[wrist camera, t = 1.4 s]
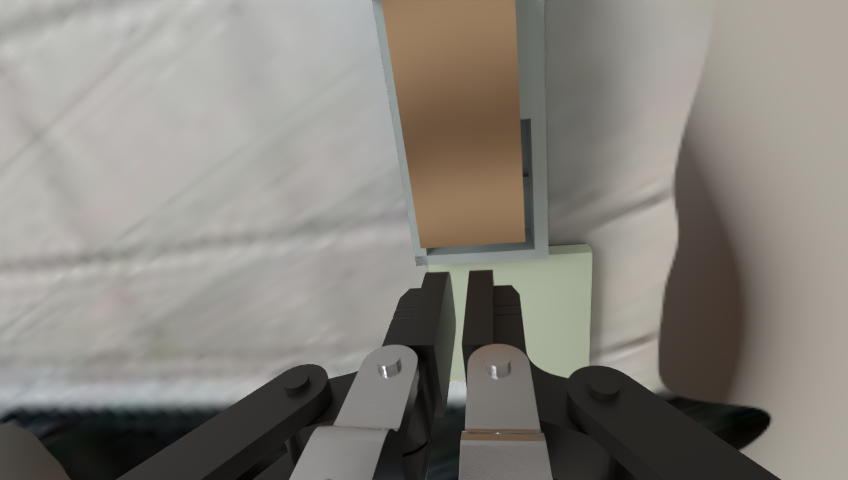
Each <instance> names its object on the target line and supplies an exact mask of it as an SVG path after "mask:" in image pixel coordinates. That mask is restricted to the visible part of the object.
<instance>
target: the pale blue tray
mask: <svg viewBox="0 0 848 480" xmlns="http://www.w3.org/2000/svg"><path fill="white" fill-rule="evenodd" d="M372 3H373V9H374V14H375V20H376V26H377V32H378V38H379V44H380V50H381V56H382V62H383V68H384V74H385V80H386V86H387V92H388V98H389V104H390V110H391V116H392V122H393V128H394V134H395V140H396V146H397V152H398V158H399V164H400V170H401V176H402V182H403V188H404V194H405V200H406V206H407V212H408V218H409V224H410V230H411V236H412V242H413V248H414V254H415V260H416V266H420V265H439V264H457V263H476V262H494V261H513V260H531V259H549V252H548V194H547V136H546V78H545V20H544V0H515V9H516V33H517V56H518V80H519V103H520V127H521V150H522V174H523V197H524V221H525V242H517V243H501V244H485V245H469V246H453V247H437V248H421V247H420V241H419V235H418V228H417V222H416V216H415V209H414V203H413V197H412V191H411V184H410V178H409V172H408V166H407V159H406V153H405V147H404V140H403V134H402V128H401V122H400V115H399V109H398V103H397V96H396V90H395V84H394V78H393V71H392V65H391V59H390V53H389V46H388V40H387V34H386V27H385V21H384V15H383V9H382V2H381V0H372Z"/></svg>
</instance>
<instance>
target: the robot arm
mask: <svg viewBox="0 0 848 480" xmlns="http://www.w3.org/2000/svg"><path fill="white" fill-rule="evenodd" d="M455 335H456V315H455V307H454V298H453V290H452V282H451V275H450V272H427V273H426V274H425V277H424V280H423V283H422V287H421V288H413V289H409V290H408V291H407V292H406V293H405V294H404V295H403V296H402V297H401V298H400V300H399V302H398V305H397V308H396V310H395V313H394V316H393V319H392V321H391V324H390V326H389V329H388V332H387V335H386V337H385V340H384V343H383V345H382V347H381V348H378V349H376V350H374V351H373V352H371V353H370V354H369V355H367V356H366V358H365V359H364V360H363V362H362V364H361V366H360V368H359V370H358V371H357V372H354V373H351V374H347V375H343V376H339V377H334V378H330V379H328V375H327V372H326V371H325V369H324V368H322V367H321V366H318V365H314V364H306V365H300V366H297V367H294V368H291V369H289V370H287V371H285V372H284V373H282V374H281V375H279V376H277V377H276V378H274V379H273V380H271V381H270V382H268V383H267V384H265V385H263V386H262V387H260V388H259V389H257V390H256V391H254V392H252V393H251V394H249V395H248V396H246V397H245V398H243V399H241V400H240V401H238V402H237V403H235V404H234V405H232V406H231V407H229V408H227V409H226V410H224V411H223V412H221V413H220V414H218V415H216V416H215V417H213V418H212V419H210V420H209V421H207V422H206V423H204V424H202V425H201V426H199V427H198V428H196V429H195V430H193V431H191V432H190V433H188V434H187V435H185V436H184V437H182V438H181V439H179V440H177V441H176V442H174V443H173V444H171V445H170V446H168V447H166V448H165V449H163V450H162V451H160V452H159V453H157V454H156V455H154V456H152V457H151V458H149V459H148V460H146V461H145V462H143V463H141V464H140V465H138V466H137V467H135V468H134V469H132V470H130V471H129V472H127V473H126V474H124V475H123V476H121V477H120V478H118V479H116V480H236V479H237V478H238V477H239V476H240V475H241V474H243V473H244V472H245V471H247V470H248V469H249V468H251V467H252V466H253V465H255V464H256V463H257V462H259V461H260V460H261V459H262V458H264V457H265V456H266V455H268V454H269V453H270V452H272V451H273V450H274V449H276V448H277V447H278V446H280V445H281V444H282V443H284V442H285V444H286V446H287V449H288V451H289V452H288V453H286V454H285V455H284V456H282V457H281V458H280V459H279V460H277V461H276V462H275V463H273V464H272V465H271V466H270V467H268V468H267V469H266V470H265V471H263V472H262V473H261V474H259V475H258V476H257V477H256V478H254V479H253V480H426V475H427V470H428V464H429V459H430V453H431V448H432V437H431V431H432V425H433V419H434V418H445V413H446V406H447V398H448V390H449V382H450V374H451V366H452V358H453V351H454V343H455ZM462 353H463V361H464V370H465V378H466V386H467V396H466V423H465V431H462V435H461V446H460V467H459V480H553V479H552V477H554V478H556V479H559V480H781V479H779V478H778V477H776V476H775V475H773V474H772V473H770V472H769V471H767V470H766V469H764V468H763V467H762V466H760V465H758V464H757V463H756V462H754V461H753V460H751V459H750V458H748V457H747V456H745V455H744V454H742V453H741V452H739V451H738V450H736V449H735V448H734V447H732V446H731V445H729V444H728V443H726V442H725V441H723V440H722V439H720V438H719V437H717V436H716V435H714V434H713V433H711V432H710V431H709V430H707V429H706V428H704V427H703V426H701V425H700V424H698V423H697V422H695V421H694V420H692V419H691V418H689V417H688V416H686V415H685V414H683V413H682V412H681V411H679V410H678V409H676V408H675V407H673V406H672V405H670V404H669V403H667V402H666V401H664V400H663V399H661V398H660V397H658V396H657V395H656V394H654V393H653V392H651V391H650V390H648V389H647V388H645V387H644V386H642V385H641V384H639V383H638V382H636V381H635V380H633V379H632V378H630V377H629V376H628V375H626V374H624V373H622V372H620V371H618V370H616V369H613V368H609V367H605V366H586V367H582V368H580V369H577V370H576V371H574V372H573V373H572V374H571V375H570V376H569V378H566V377H561V376H557V375H554V374H550V373H548V372H546V371H544V370H542V369H540V368H538V367H537V366H536V365H535V364H534V363H533V362H532V361H531V360H530V359H529V357H528V355H527V351H526V344H525V335H524V327H523V318H522V310H521V302H520V294H519V293H518V292H517V291H516V290H515V288H514V287H513V286H512V285H495V286H494V276H493V270H471V271H469V277H468V287H467V296H466V306H465V316H464V326H463V336H462Z"/></svg>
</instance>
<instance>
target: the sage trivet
mask: <svg viewBox="0 0 848 480" xmlns="http://www.w3.org/2000/svg"><path fill="white" fill-rule="evenodd" d="M548 252H549V259H531V260H513V261H494V262H476V263H457V264H439V265H428V268H429V272H450V275H451V282H452V290H453V298H454V307H455V315H456V335H455V343H454V351H453V358H452V366H451V374H450V381H466V378H465V370H464V361H463V353H462V336H463V326H464V316H465V306H466V296H467V287H468V277H469V271H471V270H493V276H494V286H495V285H512V286H513V287H514V288H515V290H516V291H517V292H518V293H519V294H520V302H521V310H522V318H523V327H524V335H525V344H526V351H527V355H528V357H529V359H530V360H531V361H532V362H533V363H534V364H535V365H536V366H537V367H538V368H540V369H542V370H544V371H546V372H548V373H550V374H554V375H557V376H561V377H566V378H569V376H570V375H571V374H572V373H573V372H574V371H576V370H577V369H580V368H582V367H586V366H589V349H590V318H591V286H592V255H593V252H592V250H591V248H590V246H589V244H577V245H561V246H548Z"/></svg>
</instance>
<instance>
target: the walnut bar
mask: <svg viewBox="0 0 848 480" xmlns="http://www.w3.org/2000/svg"><path fill="white" fill-rule="evenodd" d="M381 2H382V9H383V15H384V21H385V27H386V34H387V40H388V46H389V53H390V59H391V65H392V71H393V78H394V84H395V90H396V96H397V103H398V109H399V115H400V122H401V128H402V134H403V140H404V147H405V153H406V159H407V166H408V172H409V178H410V184H411V191H412V197H413V203H414V209H415V216H416V222H417V228H418V235H419V241H420V247H421V248H437V247H453V246H469V245H485V244H501V243H517V242H525V221H524V197H523V174H522V150H521V127H520V103H519V80H518V56H517V33H516V9H515V0H381Z"/></svg>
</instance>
